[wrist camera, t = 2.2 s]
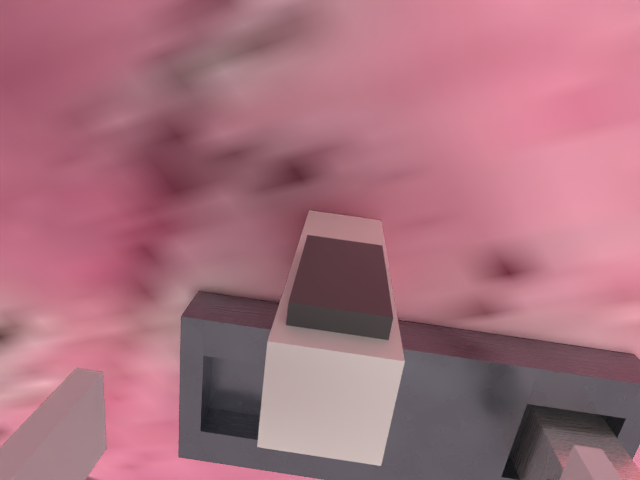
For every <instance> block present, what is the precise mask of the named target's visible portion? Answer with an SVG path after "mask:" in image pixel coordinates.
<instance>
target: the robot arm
mask: <svg viewBox="0 0 640 480" xmlns="http://www.w3.org/2000/svg"><path fill="white" fill-rule="evenodd" d="M105 450H106V426H105V404H104V382H103V372H101V371H94V370H88V369H81V368H76V369H75V370H74V371H73V372H72V373H71V374H70V375H69V376H68V377H67V378H66V379H65V380H64V381H63V382H62V383H61V385H60V386H59V387H58V388H57V389H56V390H55V391H54V392H53V393H52V394H51V395H50V396H49V397H48V398H47V399H46V400H45V401H44V402H43V403H42V404H41V405H40V407H39V408H38V409H37V410H36V411H35V412H34V413H33V414H32V415H31V416H30V417H29V418H28V419H27V420H26V421H25V422H24V423H23V424H22V425H21V426H20V427H19V429H18V430H17V431H16V432H15V433H14V434H13V435H12V436H11V437H10V438H9V439H8V440H7V441H6V442H5V443H4V444H3V445H2V446H1V447H0V480H85V479H86V478H87V476H88V475H89V474H90V472H91V471H92V469H93V468H94V466H95V465H96V463H97V462H98V460H99V459H100V457H101V456H102V454H103V453H104V451H105ZM560 480H622V479H621V478H620V476H619V475H618V473H617V471H616V470H615V468H614V467H613V465H612V464H611V462H610V461H609V459H608V458H607V456H606V455H605V453H604V451H603V450H602V449H597V448H591V447H584V446H578V445H573V448H572V450H571V453H570V455H569V458H568V460H567V463H566V465H565V468H564V470H563V473H562V475H561V478H560Z"/></svg>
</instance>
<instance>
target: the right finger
mask: <svg viewBox="0 0 640 480" xmlns="http://www.w3.org/2000/svg"><path fill="white" fill-rule="evenodd" d="M404 363H405V360H404V354H403V348H402V342H401V336H400V330H399V324H398V318H397V312H396V306H395V300H394V294H393V288H392V282H391V276H390V270H389V264H388V258H387V252H386V246H385V240H384V234H383V228H382V222H381V220H376V219H369V218H362V217H354V216H347V215H340V214H333V213H326V212H319V211H312V210H309V212H308V215H307V218H306V222H305V225H304V228H303V231H302V234H301V237H300V240H299V243H298V247H297V250H296V253H295V256H294V259H293V262H292V265H291V269H290V272H289V275H288V278H287V281H286V284H285V287H284V290H283V294H282V297H281V300H280V303H279V306H278V309H277V312H276V316H275V319H274V322H273V325H272V328H271V331H270V334H269V337H268V341H267V350H266V360H265V370H264V381H263V391H262V401H261V411H260V422H259V432H258V442H257V447H260V448H266V449H273V450H279V451H286V452H293V453H299V454H306V455H312V456H319V457H325V458H332V459H338V460H345V461H352V462H358V463H365V464H371V465H378V466H381V464H382V460H383V455H384V451H385V447H386V442H387V438H388V433H389V429H390V424H391V420H392V416H393V411H394V407H395V402H396V398H397V394H398V389H399V385H400V380H401V376H402V371H403V367H404Z"/></svg>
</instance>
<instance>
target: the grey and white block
mask: <svg viewBox="0 0 640 480" xmlns="http://www.w3.org/2000/svg"><path fill="white" fill-rule="evenodd" d="M278 306H279V303H276V302H269V301H262V300H255V299H248V298H241V297H235V296H228V295H221V294H214V293H207V292H200V291H199V292H198V293H197V294H196V296H195V297H194V299H193V300H192V302H191V303H190V304H189V306H188V307H187V309H186V310H185V312H184V313H183V315H182V316H181V349H180V404H179V457H181V458H187V459H194V460H200V461H207V462H213V463H220V464H226V465H233V466H239V467H246V468H252V469H259V470H265V471H272V472H278V473H285V474H291V475H298V476H304V477H311V478H317V479H324V480H560V478H561V475H562V473H563V470H564V468H565V465H566V463H567V460H568V458H569V455H570V453H571V450H572V448H573V445H578V446H584V447H591V448H597V449H602V450H603V451H604V453H605V455H606V456H607V458H608V459H609V461H610V462H611V464H612V465H613V467H614V468H615V470H616V471H617V473H618V475H619V476H620V478H621V479H622V480H640V470H639V469H638V468H637V466H636V465H635V463H634V462H633V460H632V459H633V457H634V455H635V453H636V451H637V449H638V447H639V444H640V360H639V359H638V358H637V357H636V355H634V354H627V353H620V352H613V351H606V350H599V349H592V348H586V347H579V346H572V345H565V344H558V343H551V342H544V341H537V340H530V339H524V338H517V337H510V336H503V335H496V334H489V333H482V332H475V331H469V330H462V329H455V328H448V327H441V326H434V325H427V324H420V323H413V322H407V321H400V320H398V324H399V330H400V336H401V342H402V348H403V354H404V360H405V363H404V367H403V371H402V376H401V380H400V385H399V389H398V394H397V398H396V402H395V407H394V411H393V416H392V420H391V424H390V429H389V433H388V438H387V442H386V447H385V451H384V455H383V460H382V464H381V466H378V465H371V464H365V463H358V462H352V461H345V460H338V459H332V458H325V457H319V456H312V455H306V454H299V453H293V452H286V451H279V450H273V449H266V448H260V447H257V442H258V432H259V422H260V411H261V401H262V391H263V381H264V370H265V360H266V350H267V341H268V337H269V334H270V331H271V328H272V325H273V322H274V319H275V316H276V312H277V309H278Z"/></svg>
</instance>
